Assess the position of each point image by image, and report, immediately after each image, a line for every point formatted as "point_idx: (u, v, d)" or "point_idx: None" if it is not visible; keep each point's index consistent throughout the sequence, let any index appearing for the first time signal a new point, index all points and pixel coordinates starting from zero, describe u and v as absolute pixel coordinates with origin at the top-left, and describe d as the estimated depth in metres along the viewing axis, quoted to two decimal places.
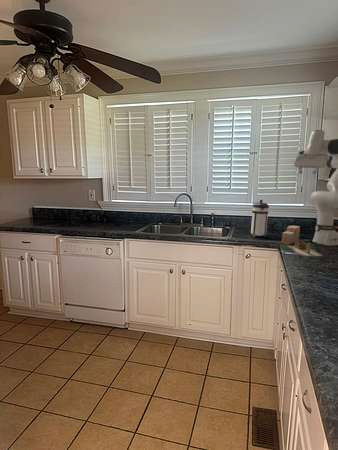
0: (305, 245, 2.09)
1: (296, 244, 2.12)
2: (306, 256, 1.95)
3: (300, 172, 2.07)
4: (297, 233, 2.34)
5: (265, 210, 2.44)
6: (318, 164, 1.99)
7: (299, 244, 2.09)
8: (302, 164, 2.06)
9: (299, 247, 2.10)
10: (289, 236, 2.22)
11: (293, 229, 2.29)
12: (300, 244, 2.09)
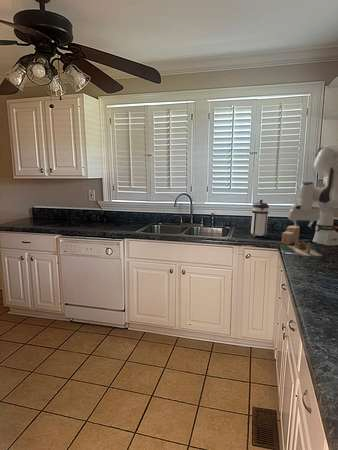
0: (305, 245, 2.09)
1: (296, 244, 2.12)
2: (306, 256, 1.95)
3: (296, 226, 2.09)
4: (297, 233, 2.34)
5: (265, 210, 2.44)
6: (314, 218, 2.07)
7: (299, 244, 2.09)
8: (298, 218, 2.07)
9: (299, 247, 2.10)
10: (289, 236, 2.22)
11: (293, 229, 2.28)
12: (300, 244, 2.09)
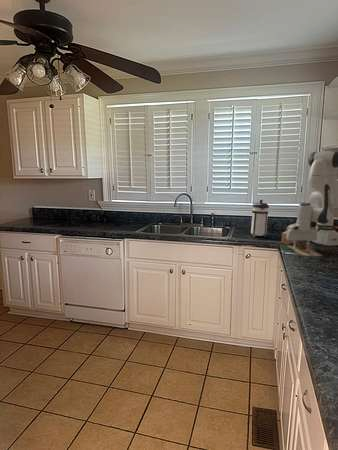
0: (305, 245, 2.09)
1: None
2: (306, 256, 1.95)
3: (296, 246, 2.12)
4: None
5: (265, 210, 2.44)
6: (312, 238, 2.10)
7: (299, 244, 2.09)
8: (296, 238, 2.10)
9: (299, 247, 2.10)
10: None
11: None
12: (300, 244, 2.09)
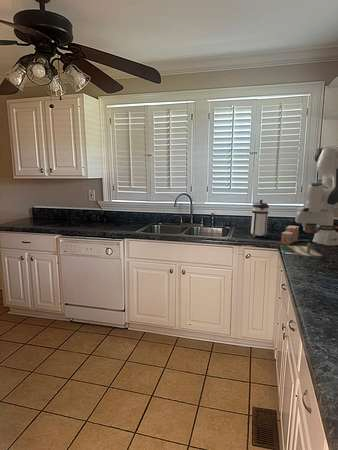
0: (316, 228, 1.95)
1: None
2: (306, 256, 1.95)
3: (306, 229, 1.97)
4: (296, 233, 2.34)
5: (265, 210, 2.44)
6: (322, 221, 1.96)
7: (309, 227, 1.95)
8: (306, 221, 1.95)
9: (309, 231, 1.95)
10: (288, 236, 2.21)
11: (292, 229, 2.28)
12: (310, 227, 1.95)
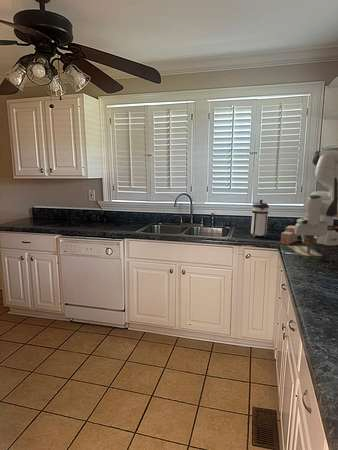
0: (314, 240, 1.96)
1: None
2: (306, 256, 1.95)
3: (305, 241, 1.99)
4: None
5: (265, 210, 2.44)
6: (321, 233, 1.97)
7: (308, 239, 1.96)
8: (305, 233, 1.97)
9: (308, 242, 1.97)
10: (288, 236, 2.21)
11: (292, 229, 2.28)
12: (309, 239, 1.96)
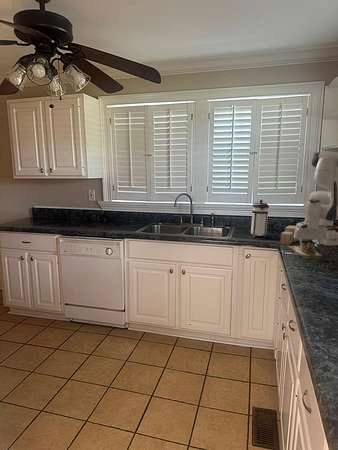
0: (313, 250, 1.98)
1: (304, 249, 2.01)
2: (306, 256, 1.95)
3: (303, 245, 1.99)
4: None
5: (265, 210, 2.44)
6: (321, 237, 1.97)
7: (307, 249, 1.98)
8: (305, 238, 1.97)
9: (307, 252, 1.98)
10: (288, 236, 2.21)
11: (292, 229, 2.28)
12: (308, 249, 1.98)
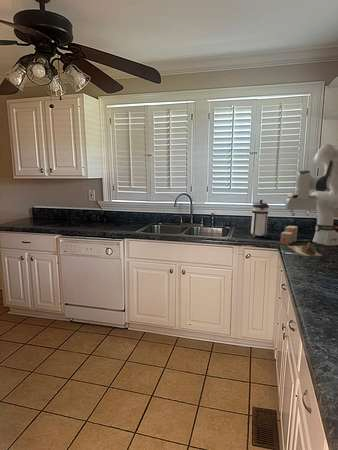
0: (313, 250, 1.98)
1: (304, 249, 2.01)
2: (306, 256, 1.95)
3: (294, 215, 2.07)
4: (295, 233, 2.33)
5: (265, 210, 2.44)
6: (311, 207, 2.06)
7: (307, 249, 1.98)
8: (295, 208, 2.05)
9: (307, 252, 1.98)
10: (288, 236, 2.21)
11: (291, 229, 2.28)
12: (308, 249, 1.98)
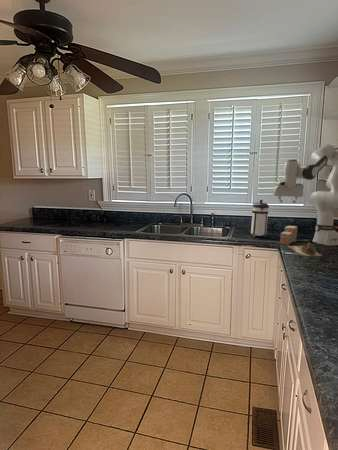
0: (313, 250, 1.98)
1: (304, 249, 2.01)
2: (306, 256, 1.95)
3: (281, 202, 2.19)
4: (295, 233, 2.33)
5: (265, 210, 2.44)
6: (298, 194, 2.17)
7: (307, 249, 1.98)
8: (283, 194, 2.17)
9: (307, 252, 1.98)
10: (287, 236, 2.21)
11: (291, 229, 2.28)
12: (308, 249, 1.98)
